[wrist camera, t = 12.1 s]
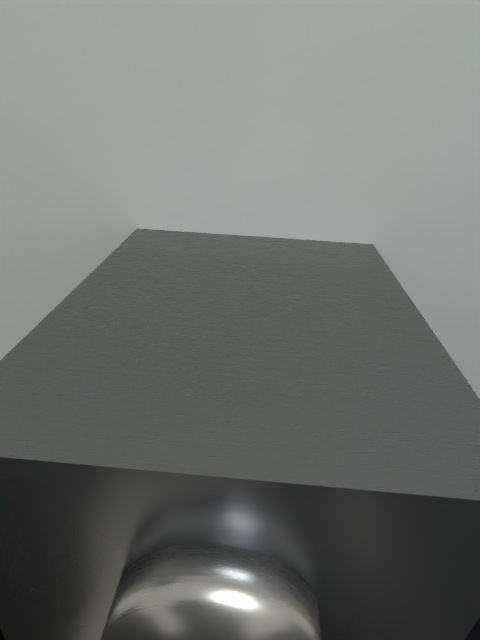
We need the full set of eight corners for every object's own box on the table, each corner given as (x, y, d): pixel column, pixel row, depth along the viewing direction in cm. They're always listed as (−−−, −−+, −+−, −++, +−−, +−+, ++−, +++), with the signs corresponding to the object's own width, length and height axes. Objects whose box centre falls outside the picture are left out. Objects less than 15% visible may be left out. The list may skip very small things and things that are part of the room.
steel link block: (309, 531, 11) (339, 873, 6) (161, 517, 11) (76, 841, 6) (371, 242, 7) (600, 576, 2) (138, 227, 7) (-149, 504, 2)
